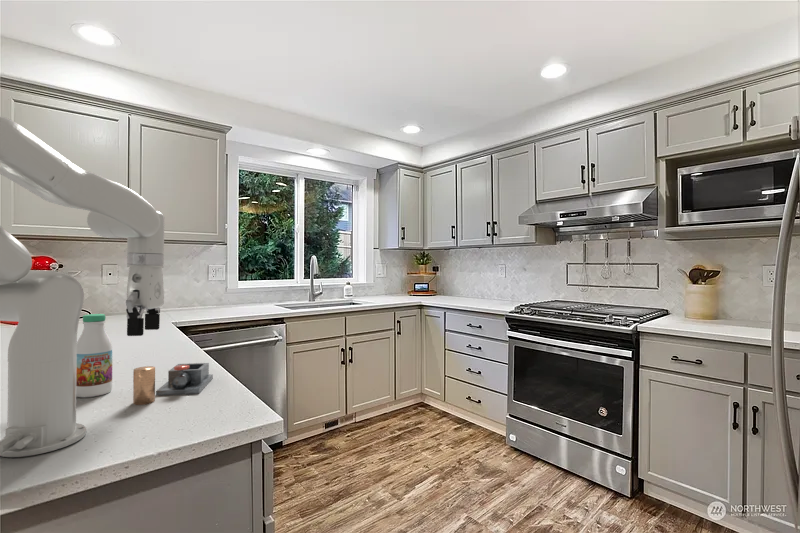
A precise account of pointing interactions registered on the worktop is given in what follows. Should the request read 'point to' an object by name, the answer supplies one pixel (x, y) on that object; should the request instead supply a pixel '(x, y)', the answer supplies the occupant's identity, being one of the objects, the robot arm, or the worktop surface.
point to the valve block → (186, 379)
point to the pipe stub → (144, 385)
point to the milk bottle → (94, 358)
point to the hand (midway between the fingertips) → (144, 332)
